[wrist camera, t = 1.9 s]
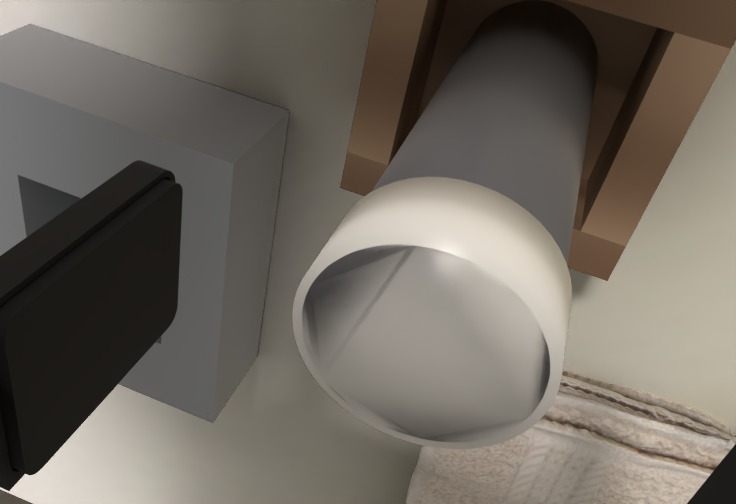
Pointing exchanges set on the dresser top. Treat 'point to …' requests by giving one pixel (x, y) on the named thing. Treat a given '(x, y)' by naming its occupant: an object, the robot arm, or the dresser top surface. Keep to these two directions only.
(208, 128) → the port
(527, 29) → the grey and white cylinder
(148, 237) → the robot arm
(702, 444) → the washcloth
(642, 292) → the dresser top surface
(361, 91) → the holster
